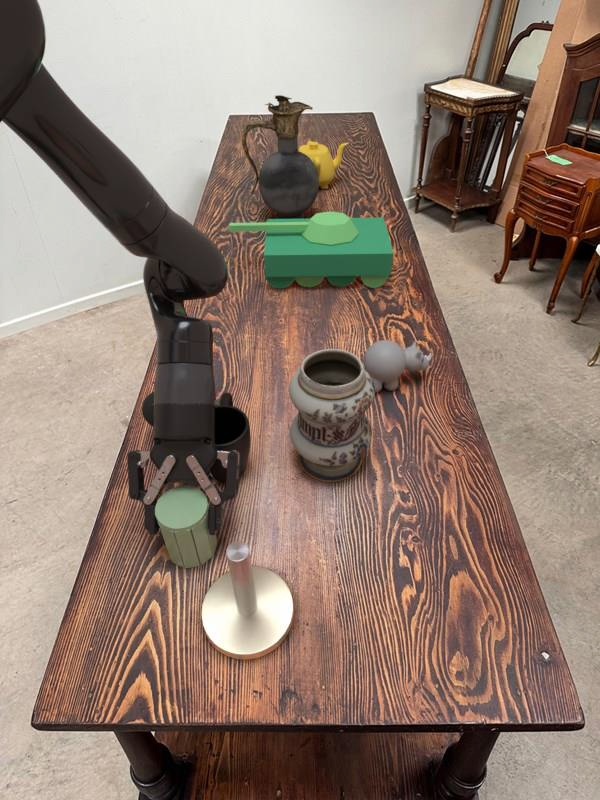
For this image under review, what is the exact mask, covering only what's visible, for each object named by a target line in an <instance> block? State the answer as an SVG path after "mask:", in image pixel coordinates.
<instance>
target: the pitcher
mask: <svg viewBox="0 0 600 800" xmlns="http://www.w3.org/2000/svg"><path fill="white" fill-rule="evenodd" d="M274 99H275V100H276V101H277V102H278V104H277V105H274V104H273V103H271V102H268V103H266V104H265V103H264V106H267V110H268V112H270V113H271V114H272V118H271V119H270V120H268V121H267V120H262V119H254V120H251V121H248V122H247V123H246V124H245V125H244V127H243V129H242V132H241V146H242V149H243V151H244V155H245V157H246V159H247V160H248V162H249V164H250V165H251V167H252V169H253V171H254V173H255V182H254V185H253V187H252V189H251V191H250V194H249V195H250V197H251V196H252V195H253V194H254V193H255V189H256V187H257V185H258V190H259V194H260V197H261V199H262V201H263V203H264V204H265V205H266V207H267V208H268V209H269V210H270V211H272V212H274V213H275V214H274V219H305V212H307V211H308V210H309V209H310V208H311V207H312V206H313V205H314V203H315V202H316V199H317V197H318V194H319V190H320V189H319V188H320V186H319V176H318V172H317V169H316V166H315V164H314V163H313V161H312V160H311V159H310V158H309V157H308V156H307V155H305V154H303V153H301V152H299V151H298V150H299V147H298V145H299V144H298V142H299V141H298V136H299V120H300V117H301V116H302V114H303V113H304V112H305V111H306V110H310V111H312V110H313V106H311V105H309V104H306V103H304V102H301V101H293V102H291V101H290V100H292V99H293V98H292V97H289V96H285V95H280V94H278V95H274ZM256 128H263V129H265V130H272V131H274V132H275V136H276V137H277V151H275V152H274V153H272V154H271V155H269V156H268V157H267V158H266V159H265V161H264V162H263V163H262V165H261V167H260V169H259V172H258V168H257V166H256V164H255V162H254V160H253V158H252V157H251V155H250V153H249V148H248V144H247V136H248V134H249V132H250V131H251V130H253V129H256Z"/></svg>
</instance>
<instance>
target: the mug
mask: <svg viewBox="0 0 600 800" xmlns="http://www.w3.org/2000/svg"><path fill="white" fill-rule="evenodd" d="M218 404H219V405H215V445H216V447H217V449H218V451H233V450H237V451H239V453H240V464H239V479H240V478H241V477H242V476H243V475H244V473H245V470H246V466H247V463H248V459H249V456H250V452H251V441H252V440H251V436H252V435H251V427H250V420H249V418H248V416H247V415H246V413H245V412H244V411H243V410H242V409H240V408H238V407H236V406H234V399H233V394H232V393H230V392H222V394H221V395H220V398H219V403H218ZM210 471H211V473H212V475H213V476H214V478H215V480H216V482H217V483H222V484H223V483H224V484H226V478H227V468H224V467H223V466H222V462H221V460H220V459H217V460H216V462H215V463H214V464H213V466H212V467H211V468H210Z"/></svg>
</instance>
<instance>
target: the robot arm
mask: <svg viewBox="0 0 600 800" xmlns="http://www.w3.org/2000/svg"><path fill="white" fill-rule="evenodd" d="M46 31H47V30H46V24H45V19H44V15H43V10H42V8H41V5H40V3H39V0H0V124H1V123H2V122H3V123H4V124H5V125H6V126H7V127H8V128H9V129H10V130H11V131H12V132H13V133H15V134H16V135H17V137H18V138H20V139H21V140H22V141H23V142H24V143H25V144H26V146H27V147H29V148H30V149H31V150H32V151H33V152H34V153H35V155H37V156H38V157H39V158H40V160H41V161H43V162H44V163H45V165H47V167H48V168H49V169H50V170H51V171H52V172H53V174H54V175H56V176H57V177H58V178H59V180H60V181H61V182H62V183H63V184H64V185H65V186H66V187H67V188H68V189H69V191H70V192H71V193H72V194H73V195H74V196H75V197H76V198H77V199H78V201H79V202H80V203H81V204H82V205H83V206H84V207H85V208H86V209H87V210H88V211H89V212H90V214H91V215H92V216H93V217H94V219H96V220H97V222H99V223H100V224H101V226H103V227H104V229H105V230H106V231H107V232H108V233H109V234H110V235H111V236H112V237H113V238H114V239H115V240H116V241H117V242H118V243H119V244H120V245H121V247H123V248H124V249H125V250H126V251H127V252H128V253H130V254H132V255H133V256H134V257H139V258H146V259H145V262H144V265H143V271H142V279H143V285H144V290H145V294H146V297H147V302H148V305H149V308H150V309H149V310H150V313H151V318H152V321H153V324H154V325H153V326H154V328H155V333H156V347H155V348H156V349H155V351H156V354H155V355H156V359H155V360H156V362H155V363H156V367H155V376H154V381H153V382H154V383H153V392H154V427H153V445H152V447H151V449H150V450H141V449H136V450H130V451H128V453H127V455H126V457H127V460H126V461H127V480H128V482H127V483H128V497H129V498H130V500H136V501H139V502H141V503H142V504H143V508H144V509H143V510H144V511H143V512H144V513H143V514H144V515H143V517H144V518H143V521H144V522H143V524H144V525H143V526H144V529H145V531H148V534H149V535H150V536H156V535H158V534H159V532H160V528H159V525H158V522H157V519H156V516H155V506H156V503H157V501H158V500H159V498H160V497H161V496H162V493H163V492H164V490H165V489H166V487H167V486H168V485H169V483H170V484H177V483H178V484H179V483H181V482H184V483H187V484H195V483H199V485H200V487H201V489H202V491H204V492H205V494H206V495H207V498H209V501H210V502H211V503H210V504H209V535H216V536H217V534H218V532H219V531H220V530H222V528H223V525H224V503H226V502H228V501H233V500H234V499H235V498H236V497H237V496H238V494H239V484H240V483H239V479H240V478H239V464H240V453H239V451H237V450H233V451H218V449H217V447H216V445H215V406H216V400H217V392H216V382H215V375H214V374H215V373H214V331H213V327H212V325H211V323H210V322H208V321H207V320H205V319H202V318H200V317H195V316H189V315H188V313H187V311H186V309H185V302H186V301H194V300H204V299H209V298H213V297H216V296H218V295H219V294H221V292H222V291H223V290H224V289H225V287H226V286H227V282H228V278H229V277H228V276H229V275H228V274H229V269H228V265H227V262H226V259H225V256H224V255H223V253H222V251H221V249H220V248H219V247H218V245H217V244H216V243H215V242H214V241H213V240H212V239H211V238H210V237H209V236H208V235H207V234H205V233H204V232H202V230H200V229H198V227H196V226H194V225H193V224H192V223H191V222H189V221H188V220H187V219H186V218H184V217H183V216H182V215H180V214H178V213H176V212H175V211H174V210H173V209H171V207H170V206H169V204H168V203H167V202H166V201H165V199H164V198H163V197H162V196H161V194H160V193H159V191H158V190H157V189H156V188H155V187H154V185H153V184H152V183H151V181H150V180H149V179H148V178H147V176H146V175H145V174H144V173H143V172H142V171H141V169H140V168H139V167H138V166H137V165H136V164H135V163H134V162H133V161H132V159H131V158H130V157H129V156H128V155H127V154H126V153H125V152H124V151H123V150H122V149H121V148H120V147H119V146H118V145H117V144H116V143H115V142H114V141H112V140H111V139H110V138H109V137H108V136H107V134H105V133H104V132H103V131H102V130H101V129H100V128H99V127H98V126H97V125H96V124H95V123H94V122H93V121H92V120H91V119H90V117H88V116H87V115H86V114H85V113H84V111H82V109H80V108H79V106H78V105H77V104H76V103H75V102H74V101H73V100H72V99H71V98H70V96H69V95H68V94H67V93H66V92H65V90H64V89H63V88H62V87H61V86H60V85H59V83H58V82H57V81H56V80H55V77H53V76H52V74H51V73H50V71H49V70H48V69H47V68H46V66H45V65H44V64H43V60H44V56H45V52H46V46H47V45H46V43H47V33H46ZM217 459H220V460H221V462H222V466H223V467H224V468H227V478H226V483H225V490H221V488H220V486H219V484H218V481H216V480H215V478H214V476H213V475H212V473H211V471H210V468H211V467H212V466H213V464H214V463H215V462H216V460H217ZM149 460H151V461H152V463H153V464H154V466H155V467H156V469H157V473H156V475H155V477H154V478H153V480H152V481H151V484H150V486H149V488H148V490H147V489H146V488H145V470H144V469H145V468H146V467H147V466H148V463H149Z"/></svg>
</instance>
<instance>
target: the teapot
mask: <svg viewBox="0 0 600 800" xmlns="http://www.w3.org/2000/svg"><path fill="white" fill-rule="evenodd" d="M348 144H349V142H344V143H341V144H340V145H339V146H338V148H337V153H336V156H335V158H333V157H332V155H331V152H330V150H329V148H328V147H327V146H326V145H324V144H321V143H319V142H318V141H312V140H309V141H307V142H306V144H303V145H300V146H299V147H298V151H299V152H301V153H303V154H305V155H307V156H308V157H309V158H310V159H311V160H312V161H313V163H314V164H315V166H316V169H317V172H318V176H319V188H320V189H324V190H326V189H329V184H331V182H332V181H333V180H334V178H335V175H336V171H337V170H338V169H339V168H340V167H341V164H342V159H343V152H344V149H345V148H346V146H347V145H348Z"/></svg>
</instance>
